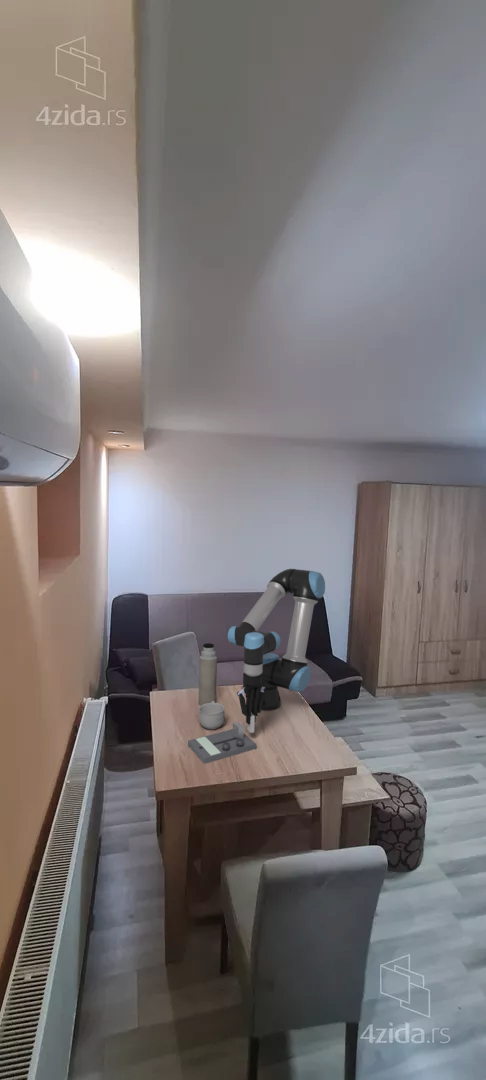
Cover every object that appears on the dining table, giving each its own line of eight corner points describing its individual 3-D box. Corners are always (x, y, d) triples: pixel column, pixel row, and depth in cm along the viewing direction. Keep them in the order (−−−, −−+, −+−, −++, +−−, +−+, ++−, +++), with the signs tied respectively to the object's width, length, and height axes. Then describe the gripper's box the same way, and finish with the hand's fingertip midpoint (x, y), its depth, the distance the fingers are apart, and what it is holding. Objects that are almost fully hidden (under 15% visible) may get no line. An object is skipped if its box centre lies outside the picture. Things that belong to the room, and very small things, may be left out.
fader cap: (237, 733, 182) (238, 721, 182) (243, 739, 178) (243, 726, 178) (232, 735, 181) (232, 722, 181) (238, 740, 177) (238, 727, 177)
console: (237, 732, 188) (237, 723, 188) (256, 748, 176) (256, 739, 176) (187, 745, 177) (188, 735, 176) (203, 763, 165) (204, 753, 164)
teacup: (220, 734, 186) (221, 714, 186) (194, 730, 189) (195, 711, 188) (228, 718, 200) (229, 700, 199) (204, 715, 202) (204, 697, 202)
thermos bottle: (216, 700, 218) (218, 642, 216) (215, 707, 210) (216, 647, 208) (199, 699, 218) (200, 641, 216) (197, 706, 210) (199, 646, 208)
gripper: (261, 667, 187) (259, 723, 189) (233, 672, 181) (231, 730, 182) (272, 673, 181) (269, 731, 183) (243, 678, 174) (241, 739, 176)
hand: (250, 730), depth 183 cm, fingers closed
